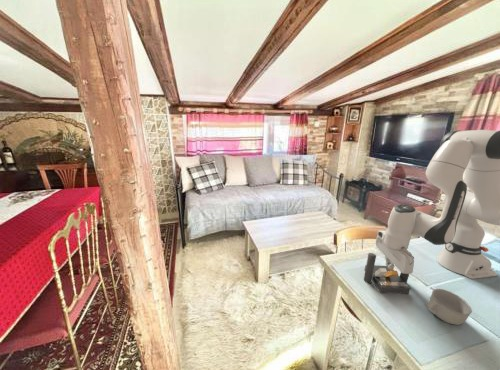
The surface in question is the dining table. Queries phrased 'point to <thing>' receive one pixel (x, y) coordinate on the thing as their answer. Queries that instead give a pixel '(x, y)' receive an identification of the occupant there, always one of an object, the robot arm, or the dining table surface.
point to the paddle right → (380, 272)
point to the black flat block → (389, 282)
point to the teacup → (449, 306)
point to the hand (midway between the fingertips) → (389, 267)
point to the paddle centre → (391, 273)
